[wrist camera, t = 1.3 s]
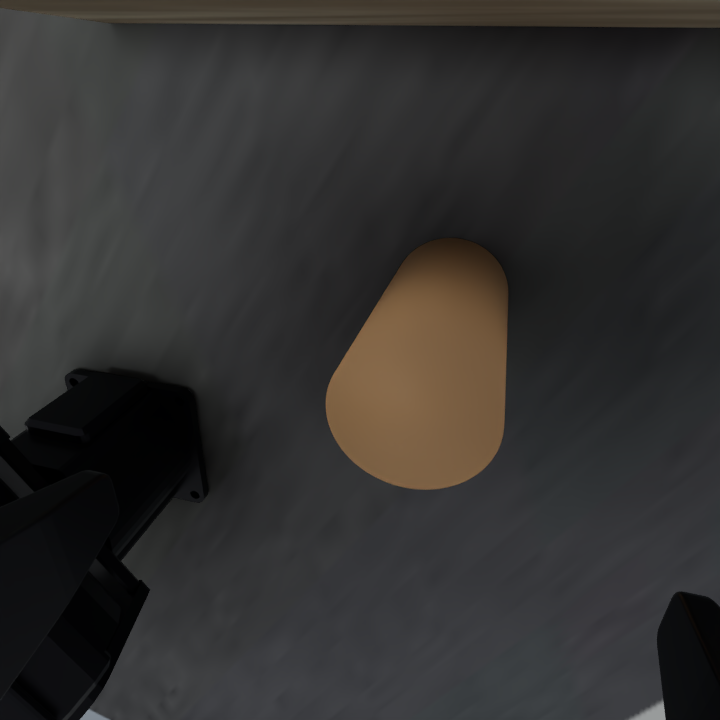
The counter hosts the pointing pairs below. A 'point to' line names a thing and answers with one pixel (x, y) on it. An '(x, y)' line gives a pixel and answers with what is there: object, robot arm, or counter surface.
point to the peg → (427, 371)
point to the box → (388, 12)
